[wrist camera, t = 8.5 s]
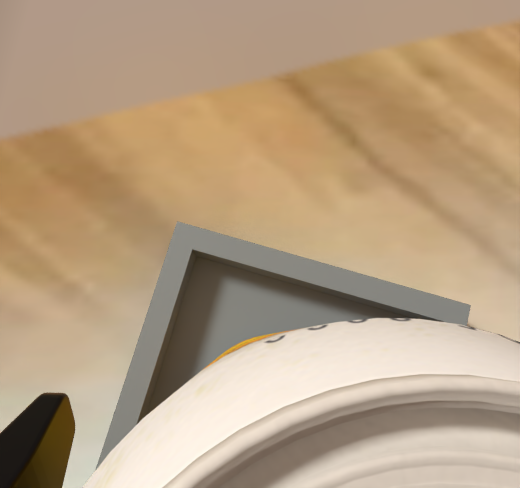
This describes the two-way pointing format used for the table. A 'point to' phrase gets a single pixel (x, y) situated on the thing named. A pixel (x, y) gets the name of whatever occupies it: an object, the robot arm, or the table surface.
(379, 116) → the table surface
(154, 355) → the tray
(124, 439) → the beer can
